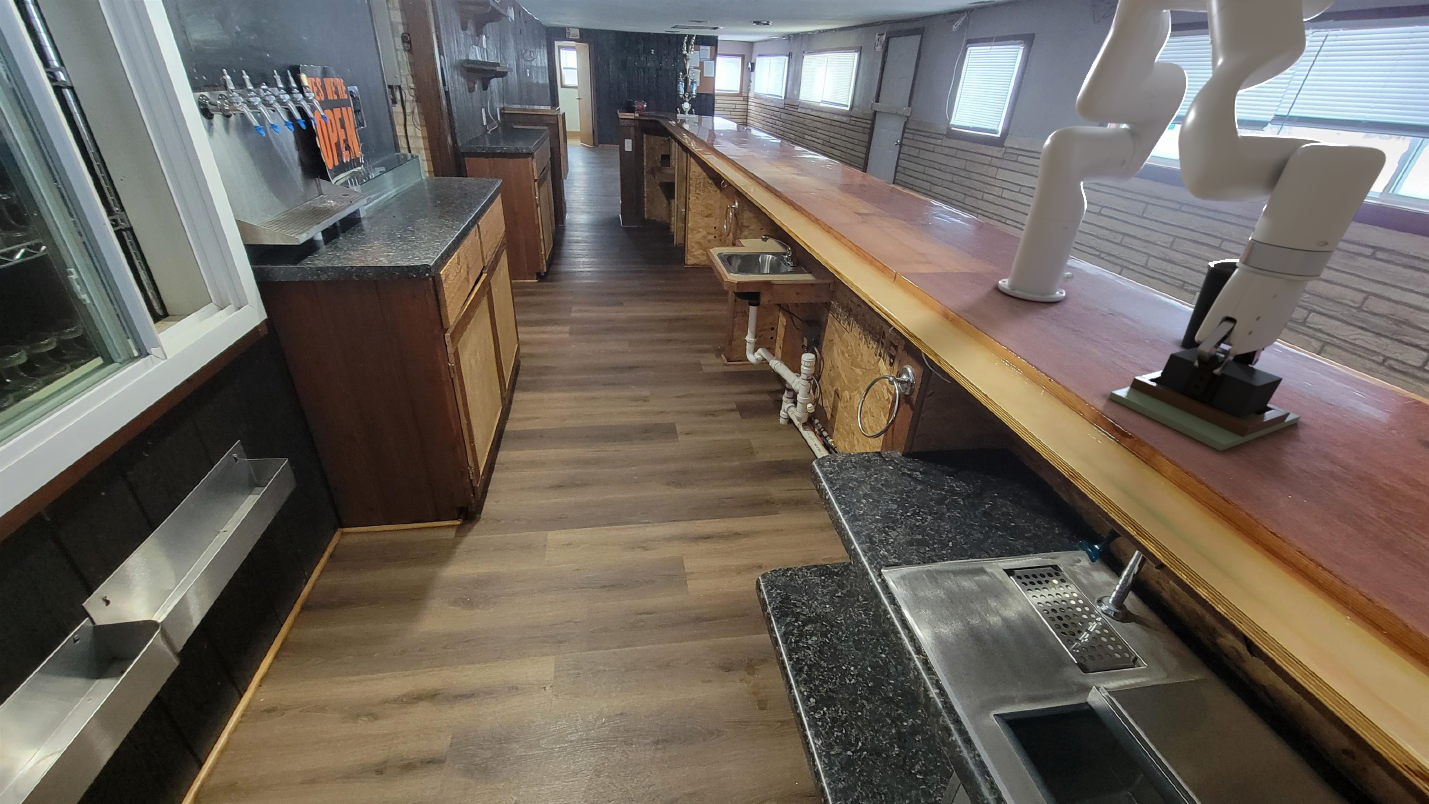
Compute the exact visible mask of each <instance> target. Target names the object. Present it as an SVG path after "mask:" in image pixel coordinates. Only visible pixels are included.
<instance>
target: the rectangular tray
mask: <svg viewBox="0 0 1429 804" xmlns="http://www.w3.org/2000/svg"><path fill="white" fill-rule="evenodd" d="M1162 371H1163V369H1162V370H1158V371H1155V372H1150V373H1147V374H1143V375H1140V376H1139V375H1138V376H1135V377H1133V379H1132V381H1131V383H1130V385H1129V386H1127V387H1124V388H1120V389H1117V390H1113V391H1111V392H1110V393H1109V396H1108V399H1110V400H1112V401H1114V402H1116V403H1118V404H1120V405H1123V406H1125V407H1127V408H1129V409H1131V410H1133V411H1135V412H1137V413H1139V414H1142V415H1143V416H1146V417H1148V418H1149V419H1151V420H1155V421H1156V422H1158V423H1160V424H1162V425H1165V426H1166V427H1169V428H1171V429H1173V430H1174V431H1177V432H1179V433H1182V434H1184V435H1185V436H1188V437H1190V438H1192V439H1194V440H1196V441H1199V442H1200V443H1202V444H1205V445H1207V446H1208V447H1211V448H1212V449H1215V450H1217V451H1219V452H1222V451H1224V450H1227V449H1230V448H1234V447H1236V446H1238V445H1241V444H1245V443H1246V442H1249V441H1251V440H1252V441H1253V440H1255V439H1257V438H1260V437H1262V436H1266V435H1267V434H1270V433H1273V432H1275V431H1278V430H1281V429H1284V428H1286V427H1288V426H1292V425H1295V424H1297V423H1298V422H1299V420H1300V419H1301V417H1302V415H1299V414H1296V413H1294V412H1291V411H1289V410H1287V409H1284V408H1281V407H1279V406H1277V405H1275V404H1271V403H1269V402H1268V404H1267V406H1266V407H1265V409H1263V410H1260V411H1257V412H1254V413H1251V414H1248V415H1245V416H1243V417H1240V418H1239V417H1236V416H1234V415H1231V414H1229V413H1227V412H1224V411H1222V410H1220V409H1217V408H1215V407H1213V406H1210V405H1208V404H1205V403H1203V402H1201V401H1198V400H1196V399H1194V398H1191V397H1189V396H1187V395H1184V394H1182V393H1179V392H1177V391H1175V390H1172V389H1170V388H1168V387H1165V386H1163V385H1161V384H1158V383H1157V381H1158V379H1159V377H1160V375H1161V373H1162Z"/></svg>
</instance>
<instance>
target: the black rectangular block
mask: <svg viewBox="0 0 1429 804" xmlns="http://www.w3.org/2000/svg"><path fill="white" fill-rule="evenodd" d="M1197 349H1198V348H1192V349H1185V350H1184V349H1183V350H1180V351H1177V352H1172V353H1170V355H1169V356H1168V359H1167V361H1166V363H1165V365H1164V367H1163V369H1162V370H1163V371H1162V370H1161V371H1162V373H1161V375H1160V377H1159V379H1158V381H1157V383H1158V384H1161V385H1163V386H1165V387H1168V388H1170V389H1172V390H1175V391H1177V392H1179V393H1182V390H1183V388H1184V386H1185V384H1186V382H1187V380H1188V378H1189V376H1190V374H1191V372H1192V370H1193V368H1194V364H1195V362H1196V360H1197V355H1198V351H1197ZM1215 355H1216V356H1218V358H1219V362H1220V361H1221V360H1222V358H1223V357H1224V356H1221V355H1219V354H1217V353H1216V354H1215ZM1250 366H1251V365H1249V366H1247V365H1244V364H1241V363H1239V362H1236V361H1233V360H1231V362H1230V363H1229V364H1228V366H1227V367H1226V368H1225V370H1224V371H1223V372H1222V375H1225V376H1224V378H1223V380H1222V381H1221V383H1220V385H1219V387H1218V389H1217V391H1216V392H1215V394H1214V396H1213V398H1212V400H1211V401H1210V402H1207V403H1205V402H1203V403H1205V404H1208V405H1210V406H1213V407H1215V408H1217V409H1220V410H1222V411H1224V412H1227V413H1229V414H1231V415H1234V416H1236V417H1239V418H1240V417H1243V416H1245V415H1248V414H1251V413H1254V412H1257V411H1260V410H1263V409H1265V407H1266V406H1267V404H1268V403H1269V402H1270V401H1271V399H1272V398H1273V396H1274V394H1275V393H1276V391H1277V389H1278V387H1279V386H1280V384H1281V383H1282V381H1283V379H1284V378H1283V377H1281V376H1278V375H1275V374H1272V373H1269V372H1267V371H1264V370H1261V369H1258V368H1255V367H1254V366H1252V367H1250ZM1253 367H1254V368H1253ZM1182 394H1183V393H1182ZM1184 395H1185V394H1184ZM1187 396H1188V395H1187ZM1189 397H1190V396H1189ZM1191 398H1193V397H1191ZM1194 399H1195V398H1194ZM1196 400H1197V399H1196ZM1198 401H1200V400H1198ZM1201 402H1202V401H1201Z"/></svg>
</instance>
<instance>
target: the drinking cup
mask: <svg viewBox="0 0 1429 804" xmlns="http://www.w3.org/2000/svg"><path fill="white" fill-rule="evenodd" d="M1238 260H1239V259H1225V260H1220V261H1213V262H1209V263H1207V266H1206V268H1207V272H1206V275H1205V277H1204V280H1203V282H1202V285H1201V288H1200V291H1199V293H1198V296H1197V299H1196V302H1195V304H1194V307H1193V309H1192V313H1191V316H1190V318H1189V321H1188V324H1187V327H1186V329H1185V332H1184V335H1183V336H1182V337H1183V338H1182V341H1181V344H1180V345H1181V346H1182V347H1183V348H1185V349H1186V350H1188V349H1192V348H1198V347H1199V346H1200V345H1201V344H1200V343H1197V342H1196V341H1195V336H1196V334H1197V332H1198V330H1199V329H1200V327H1201V325H1202V323H1203V321H1204V320H1205V318H1206V316H1207V314H1208V312H1209V311H1210V309H1211V307H1212V306H1213V304H1214V302H1215V300H1216V299H1217V297H1218V295H1219V294H1220V292H1221V291H1222V289H1223V287H1224V286H1225V284H1226V283H1227V282H1228V280H1229V279H1230V277H1231V276H1232V275H1233V273H1234V272H1235V271H1236V269H1237V268H1239V267H1238V266H1236V263H1237V261H1238ZM1219 347H1220V348H1221V345H1220V346H1219Z"/></svg>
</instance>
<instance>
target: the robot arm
mask: <svg viewBox="0 0 1429 804" xmlns="http://www.w3.org/2000/svg"><path fill="white" fill-rule="evenodd" d="M1336 1H1337V0H1118V2H1117V6H1116V10H1115V13H1114V18H1113V21H1112V23H1111V26H1110V28H1109V31H1108V33H1107V35H1106V37H1105V39H1104V41H1103V43H1102V45H1101V47H1100V49H1099V51H1098V53H1097V56H1096V57H1095V59H1094V61H1093V64H1092V66H1091V68H1090V70H1089V72H1088V73H1087V75H1086V78H1085V80H1084V82H1083V84H1082V87H1081V89H1080V91H1079V93H1078V96H1077V98H1076V102H1075V112H1076V115H1077V116H1078V117H1079V118H1080V119H1082V120H1084V121H1086V122H1093V123H1099V124H1100V123H1101V124H1117V125H1118V124H1119V125H1122V127H1104V126H1091V125H1073V126H1067V127H1062V128H1060V129H1058V130H1056V131H1054V132H1053V133H1051V135H1049V136H1048V137H1047V139H1046V140H1045V142H1044V144H1043V146H1042V150H1041V153H1040V157H1039V164H1038V173H1037V174H1038V175H1037V179H1036V184H1035V190H1034V194H1033V198H1032V201H1031V205H1030V208H1029V211H1028V215H1027V217H1026V221H1025V224H1024V228H1023V231H1022V234H1021V237H1020V240H1019V242H1018V247H1017V250H1016V254H1015V257H1014V259H1013V263H1012V266H1011V270H1010V273H1009V276H1008V278H1004V279H1001V280H999V282H998V285H997V286H998V287H997V288H998V289H999V290H1000V291H1001V292H1003V293H1004V294H1007V295H1009V296H1011V297H1015V298H1019V299H1023V300H1026V301H1032V302H1033V301H1034V302H1041V303H1042V302H1043V303H1053V302H1054V303H1055V302H1061V301H1062V300H1063V299H1064V298H1065V296H1066V291H1065V290H1064V289H1063V288H1061V285H1062V284H1063V283H1068V282H1072V281H1073V280H1074V277H1075V276H1074V274H1073V272H1065V270H1066V267H1067V264H1068V262H1069V259H1070V256H1071V253H1072V250H1073V247H1074V245H1075V242H1076V239H1077V236H1078V233H1079V231H1080V228H1081V225H1082V222H1083V220H1084V217H1085V213H1086V209H1087V200H1086V199H1087V198H1086V195H1085V192H1084V189H1083V184H1088V183H1091V184H1122V183H1125V182H1128V181H1130V180H1132V179H1133V178H1134V177H1136V176H1137V175H1138V174H1139V172H1141V170H1142V169H1143V167H1144V166H1145V164H1146V163H1147V161H1148V160H1149V158H1150V157H1151V155H1152V154H1153V152H1154V151H1155V149H1156V147H1157V146H1158V144H1159V142H1160V141H1161V139H1162V138H1163V136H1164V134H1165V133H1166V131H1167V130H1168V128H1169V127H1170V125H1171V123H1172V122H1173V120H1174V119H1175V118H1176V116H1177V113H1178V112H1179V110H1180V109H1181V107H1182V104H1183V102H1184V100H1185V97H1186V93H1187V89H1188V76H1187V73H1186V70H1185V69H1184V68H1183V67H1182V66H1181V65H1179V64H1176V63H1173V62H1164V61H1157V60H1158V58H1159V56H1160V54H1161V52H1162V51H1163V49H1164V47H1165V46H1166V43H1167V42H1168V39H1169V37H1170V33H1171V29H1172V18H1171V17H1172V16H1171V11H1181V12H1192V13H1207V27H1208V37H1209V50H1210V51H1209V52H1210V62H1211V77H1210V78H1209V79H1208V80H1207V81H1206V83H1205V84H1204V85H1203V86H1202V87H1201V88H1200V89H1199V91H1198V92H1197V93H1196V95H1195V96H1194V98H1192V99H1193V100H1192V101H1191V102H1190V104H1189V106H1188V109H1187V111H1186V113H1185V115H1184V117H1183V120H1182V123H1181V126H1180V129H1179V132H1178V141H1177V142H1178V143H1177V144H1178V158H1179V169H1180V170H1179V171H1180V175H1181V180H1182V183H1183V185H1184V187H1185V190H1186V191H1187V192H1188V193H1189V194H1190V195H1191V196H1193V197H1194V198H1196V199H1199V200H1202V201H1210V202H1224V203H1225V202H1226V203H1227V202H1229V203H1247V204H1263V205H1265V206H1264V208H1263V210H1262V212H1261V214H1260V216H1259V218H1258V220H1257V221H1256V224H1255V226H1254V228H1253V230H1252V232H1251V234H1250V236H1249V238H1248V239H1247V242H1246V244H1245V246H1244V248H1243V249H1242V252H1241V254H1240V256H1239V258H1238V259H1237V260H1238V261H1237V263H1236V266H1238V267H1239V268H1237V269H1236V271H1235V272H1234V273H1233V275H1232V276H1231V277H1230V279H1229V280H1228V282H1227V283H1226V284H1225V286H1224V287H1223V289H1222V291H1221V292H1220V294H1219V295H1218V297H1217V299H1216V300H1215V302H1214V304H1213V306H1212V307H1211V309H1210V311H1209V312H1208V314H1207V316H1206V318H1205V320H1204V321H1203V323H1202V325H1201V327H1200V329H1199V330H1198V332H1197V334H1196V336H1195V341H1196V342H1197V343H1200V344H1201V345H1200V346H1199V347H1198V349H1197V351H1198V355H1197V360H1196V362H1195V364H1194V368H1193V370H1192V372H1191V374H1190V376H1189V378H1188V380H1187V382H1186V384H1185V386H1184V388H1183V390H1182V393H1183V394H1185V395H1188V396H1190V397H1193V398H1195V399H1197V400H1200V401H1202V402H1205V403H1207V402H1210V401H1211V400H1212V398H1213V396H1214V394H1215V392H1216V391H1217V389H1218V387H1219V385H1220V383H1221V381H1222V380H1223V378H1224V376H1225V375H1222V372H1223V371H1224V370H1225V368H1226V367H1227V366H1228V364H1229V363H1230V362H1231V360H1233V361H1236V362H1239V363H1241V364H1244V365H1247V366H1250V367H1253V368H1255V367H1254V366H1256V365H1257V363H1258V362H1259V360H1260V357H1261V354H1262V352H1264V351H1265V349H1267V348H1268V347H1270V346H1272V345H1274V343H1276V341H1277V340H1278V339H1279V337H1280V336H1281V334H1282V333H1283V331H1284V330H1285V328H1286V327H1287V325H1288V323H1289V321H1290V320H1291V317H1293V314H1294V312H1295V310H1296V309H1297V306H1298V305H1299V302H1300V300H1301V298H1302V296H1303V294H1304V292H1305V291H1306V287H1307V285H1308V283H1309V282H1313V281H1317V280H1318V281H1319V279H1320V278H1321V275H1322V274H1323V272H1324V271H1325V269H1326V267H1327V265H1328V264H1329V262H1330V260H1331V259H1332V256H1333V255H1334V253H1335V251H1336V249H1337V248H1338V247H1339V244H1340V243H1341V241H1342V240H1343V238H1344V235H1345V234H1346V232H1347V231H1348V229H1349V227H1350V225H1351V224H1352V222H1353V221H1354V219H1355V217H1356V215H1357V213H1358V212H1359V210H1360V208H1361V206H1362V204H1364V202H1365V200H1366V198H1367V197H1368V195H1369V193H1370V191H1371V190H1372V188H1373V186H1374V185H1375V183H1376V182H1377V179H1378V178H1379V176H1380V174H1381V173H1382V171H1383V169H1384V167H1385V165H1386V162H1387V155H1386V153H1385V152H1384V151H1383V150H1381V149H1380V148H1376V147H1371V146H1364V145H1354V144H1340V143H1329V142H1325V141H1323V140H1319V139H1314V138H1309V137H1298V136H1297V137H1296V136H1280V135H1263V134H1262V135H1261V134H1260V135H1259V134H1240V133H1239V130H1238V123H1237V114H1236V113H1237V112H1236V108H1237V107H1236V106H1237V98H1238V94H1239V93H1242V92H1245V91H1247V90H1250V89H1253V88H1256V87H1259V86H1260V85H1264V84H1266V83H1268V82H1270V81H1272V80H1273V79H1275V78H1277V77H1279V76H1281V75H1282V74H1284V73H1286V72H1287V71H1288V70H1290V69H1291V68H1292V67H1294V66H1295V65H1296V64H1297V63H1298V62H1299V60H1300V59H1301V58H1302V56H1304V54H1305V51H1306V48H1307V35H1306V27H1305V21H1308V20H1311V19H1313V18H1315V17H1317V16H1319V15H1321V14H1322V13H1323V12H1325V11H1327V10H1328V9H1329V8H1330V7H1331V6H1332V5H1334V3H1335V2H1336ZM1222 344H1223V345H1225V346H1228V347H1230V348H1228V349H1226V348H1223V347H1221V346H1222ZM1219 346H1220V347H1219ZM1217 353H1218V354H1220V355H1223V356H1222V357H1223V358H1222V360H1221V361H1220V362H1219V358H1218V356H1216V355H1217ZM1215 354H1216V355H1215Z"/></svg>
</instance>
